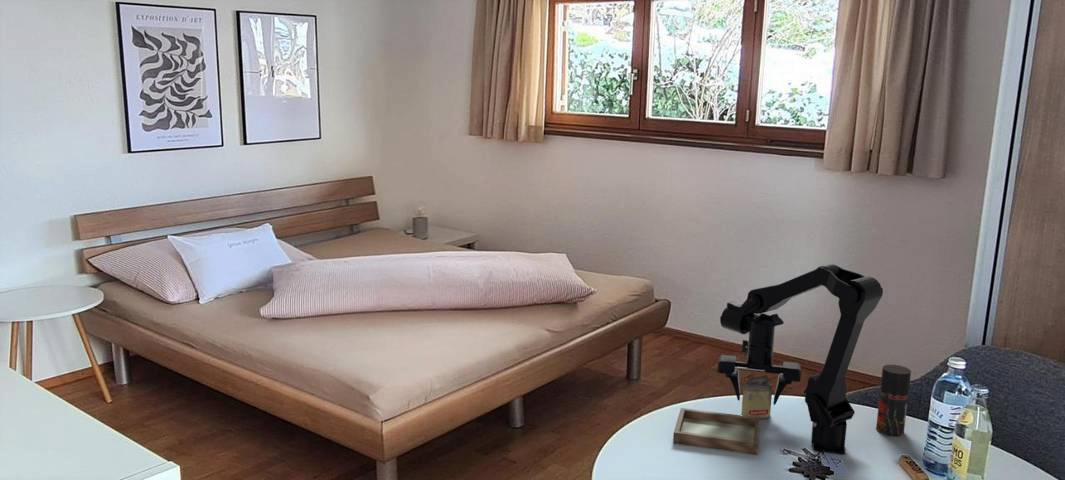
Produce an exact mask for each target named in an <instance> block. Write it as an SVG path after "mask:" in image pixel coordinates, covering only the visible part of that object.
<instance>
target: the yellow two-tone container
mask: <svg viewBox="0 0 1065 480" xmlns="http://www.w3.org/2000/svg"><path fill="white" fill-rule="evenodd" d="M772 396H773V384H772V383H771V378H770V377H769V376H768V375H764V376H748V381H747V382H744V383H743V388H742V400H741V412H740V413H741V414H740V415H742V416H749V417H757V418H760V419H769V418H770V417H771V411H772V410H771V407H772Z"/></svg>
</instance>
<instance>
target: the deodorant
mask: <svg viewBox="0 0 1065 480" xmlns="http://www.w3.org/2000/svg"><path fill="white" fill-rule="evenodd" d="M881 371H882V373H881V380H880V389H879V399H878V408H877V415H876V416H877V418H876V428H875V430H876V431H877V432H878V433H880V434H881V435H885V436H888V437H894V438H895V437H896V438H897V437H902V436H904V434H905V427H906V426H905V425H906V416H907V408H908V401H909V392H910V384H911V382H910V381H911V374H912V370H911V369H910V368H908V367H906V366H903V365H898V364H885V365H883V366H882V369H881Z"/></svg>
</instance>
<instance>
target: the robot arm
mask: <svg viewBox="0 0 1065 480" xmlns="http://www.w3.org/2000/svg"><path fill="white" fill-rule="evenodd" d="M820 287H825V288H826V289H827V290H828V292H829V293H830V294H831V295H833V296H835V297H836V298H838V308H839V312H840V315H839V316H840V317H839V320H838V323H837V325H836V329H835V332H834V335H833V338H832V341H831V343H830V347H829V350H828V353H827V355H826V359H825V360H824V364H823V368H822V370H821V372H820V373H817V374H814V375H812V376H810V377H808V379H807V386H806V387H805V389H804V391H803V394H805V396H804V402H805V403H806V406H807V411H808V415H809V418H810V422H811V423H812V425H811V426H812V427H811V435H810V440H811V442H810V443H811V445H812V446H813V450H814V451H819V452H826V453H835V454H841V455H845V454H846V448H845V446H846V435H847V428H848V427H847V425H848V424H847V421H849V420H852V419H853V417H854V415H855V412H856V411H855V410H854V408H853V406H852V405H851V403H850V402H849V400H848V399H847V397H846V396H847V390H848V388H847V384H846V375H847V371H848V369H849V366H850V363H851V360H852V358H853V353H854V351H855V348H856V346H857V343H858V340H859V337H860V334H861V332H862V328H863V326H864V323H865V321H866V320H867V318H868V317H869V316H870V315H871V314H872V313H873V312H874V310H876V308H877V306H878V304H879V302H880V301H881V299H882V297H883V294H884V290H883V287H882V286H881V283H880V282H879V281H878V280H877V279H876V278H875V277H871V276H865V275H863V274H862V273H858V272H855V271H853V270H852V271H851V270H848V269H844V268H843V267H841V266H838V265H836V264H834V263H830V264H825V265H824V264H823V265H820V266H818V267H817V268H816V269H814V270H811V271H808V272H806V273H804V274H802V275H798V276H796V277H794V278H791V279H789V280H787V281H784V282H782V283H778V284H774V285H773V284H771V285H767V286H763V287H759V288H754V289H751V290H749V292H747V298H746V299H745V301H743V303H742V304H740V303H738V302H736V301H730V302H726V307H725V308H724V310H723V311H722V313H721V316H719V317H720V318H719V321H720V322H719V323H720V325H721V327H722V329H723V328H724V329H725V330H729V331H732V332H736V333H738V334H741V335H747V334H748V339H747V340H746V339H742V346H741V353H742V354H746V361H739V360H737V355H736V356H735V355H725V354H721V355H720V356H719V359H718V363H717V364H718V365H717V373H719V374H724V375H725V378H729V380H730V382H731V384H732V386H733V389H734V392H735V396H736V399H737V401H738V402H739V401H740V400H741V385H740V382H741V381H740V370H741V371H750V372H758V373H765V374H766V373H768V374H774V375H775V374H776V375H778V377H777V382H776V387H775V392H774V395H773V403H772V404H773V406H775V405H777V402H778V400H779V398H780V397H781V393H782V392H783V391H784V389H785V388H786V387H787V386H788V385H792V384H793V382H797V383H799V382H801V378H802V377H801V376H802V367H801V365H800V363H799V362H791V361H786V360H785V361H783V363H782V365H779V364H777V365H776V364H773V357H774V356H773V355H774V343H775V331H776V329H775V328H776V327H778V326H781V325H784V323H785V322H784V320H783V319H782V318H780V316H779V314H778V313H773V314H770V315H769V314H767V313H769V312H771V311H777V310H778V309H779V308H781V307H782V306H785V304H787V303H788V301H790V300H791V299H793V298H796V297H798V296H800V295H802V294H803V295H804V294H805V293H807V292H811V291H813V290H816V289H818V288H820Z"/></svg>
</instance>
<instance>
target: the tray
mask: <svg viewBox="0 0 1065 480" xmlns="http://www.w3.org/2000/svg"><path fill="white" fill-rule="evenodd" d="M760 419H761V418H757V417H749V416H741V414H740V415H739V414H733V413H725V412H717V411H716V412H715V411H709V410H708V411H707V410H701V409H700V410H699V409H694V408H693V409H692V408H685V407H680V410H679V413H678V417H677V419H676V423H675V427H674V430H673V437H672V438H673V439H672V444H674V445H675V444H676V445H683V446H690V447H697V448H704V449H712V450H719V451H725V452H727V451H728V452H734V453H741V454H748V455H754V456H755V455H756V456H757V455H758V452H759V451H758V450H759V437H760V434H759V433H760Z"/></svg>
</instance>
